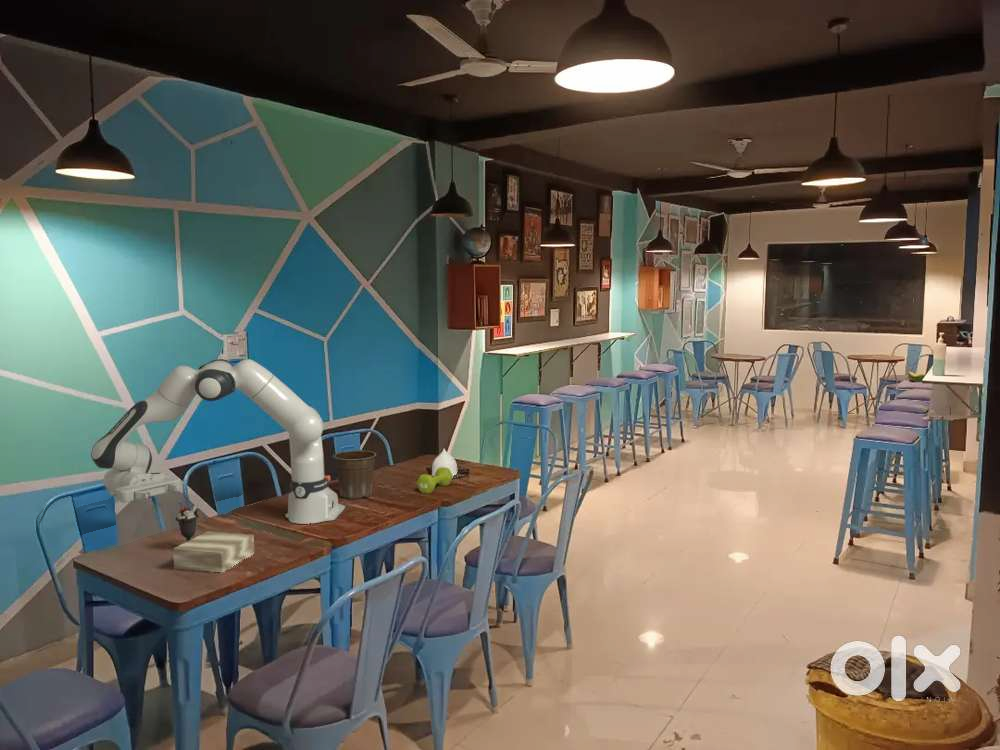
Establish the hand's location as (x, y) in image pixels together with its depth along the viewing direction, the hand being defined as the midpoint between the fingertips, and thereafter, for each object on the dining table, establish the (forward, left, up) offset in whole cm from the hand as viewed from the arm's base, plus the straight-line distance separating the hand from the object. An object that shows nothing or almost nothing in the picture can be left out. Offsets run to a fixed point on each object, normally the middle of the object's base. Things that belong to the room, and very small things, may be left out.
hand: (162, 492), depth 239 cm
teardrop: (-99, +61, -16) cm, 117 cm away
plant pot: (-63, +37, -16) cm, 75 cm away
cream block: (+12, +27, -16) cm, 33 cm away
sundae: (+4, +12, -16) cm, 20 cm away
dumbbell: (-78, +64, -17) cm, 102 cm away
